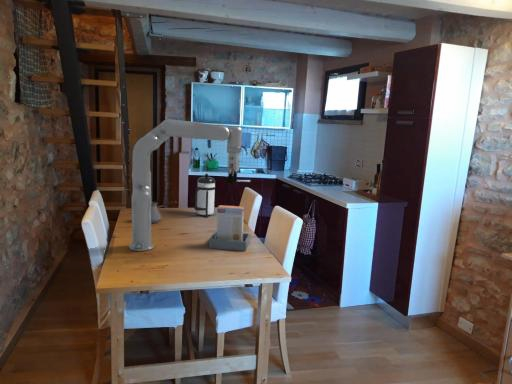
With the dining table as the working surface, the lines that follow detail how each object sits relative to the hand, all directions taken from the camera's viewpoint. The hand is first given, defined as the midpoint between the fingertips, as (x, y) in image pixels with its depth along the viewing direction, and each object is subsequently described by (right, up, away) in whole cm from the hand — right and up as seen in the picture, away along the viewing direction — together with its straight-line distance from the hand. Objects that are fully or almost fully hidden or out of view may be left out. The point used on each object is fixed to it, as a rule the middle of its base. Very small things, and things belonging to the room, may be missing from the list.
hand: (232, 182), depth 215 cm
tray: (-2, -35, +6) cm, 36 cm away
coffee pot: (-50, -25, +44) cm, 71 cm away
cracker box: (-2, -34, +6) cm, 35 cm away
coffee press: (-24, -22, +68) cm, 76 cm away
